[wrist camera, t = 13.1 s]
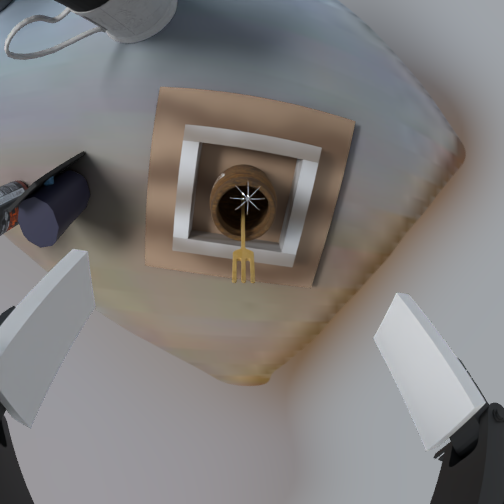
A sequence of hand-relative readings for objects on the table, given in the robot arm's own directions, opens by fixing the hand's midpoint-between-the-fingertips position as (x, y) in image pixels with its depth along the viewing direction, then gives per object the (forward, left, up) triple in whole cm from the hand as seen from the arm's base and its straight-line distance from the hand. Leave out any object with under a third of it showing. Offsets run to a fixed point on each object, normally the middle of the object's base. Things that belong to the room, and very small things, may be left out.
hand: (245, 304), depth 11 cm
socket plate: (0, 0, -20) cm, 20 cm away
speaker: (+2, -20, -20) cm, 28 cm away
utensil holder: (0, 0, -19) cm, 19 cm away
